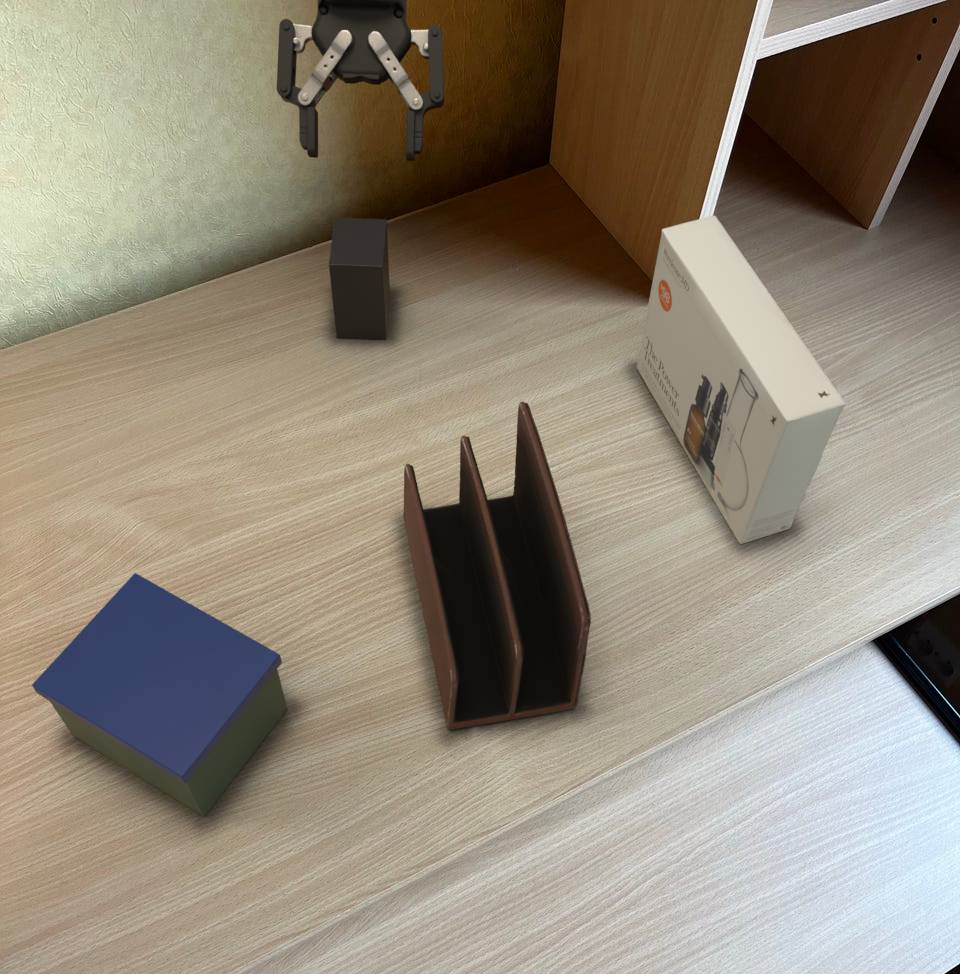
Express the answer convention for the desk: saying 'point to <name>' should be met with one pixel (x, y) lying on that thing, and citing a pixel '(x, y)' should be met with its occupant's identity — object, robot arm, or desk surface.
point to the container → (167, 692)
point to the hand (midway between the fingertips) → (361, 158)
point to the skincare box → (734, 380)
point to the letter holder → (500, 591)
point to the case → (360, 278)
